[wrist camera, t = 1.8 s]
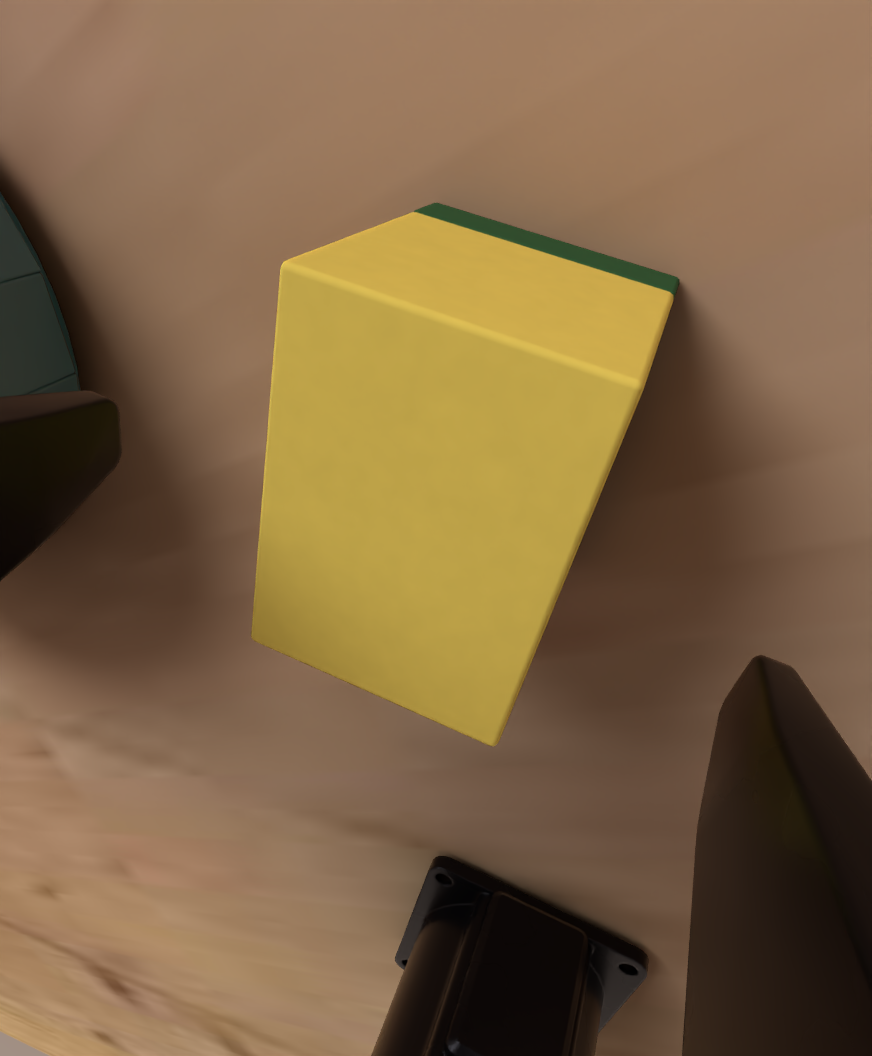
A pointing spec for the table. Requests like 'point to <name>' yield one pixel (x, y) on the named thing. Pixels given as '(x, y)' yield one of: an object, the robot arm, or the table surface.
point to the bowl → (30, 320)
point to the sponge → (442, 451)
